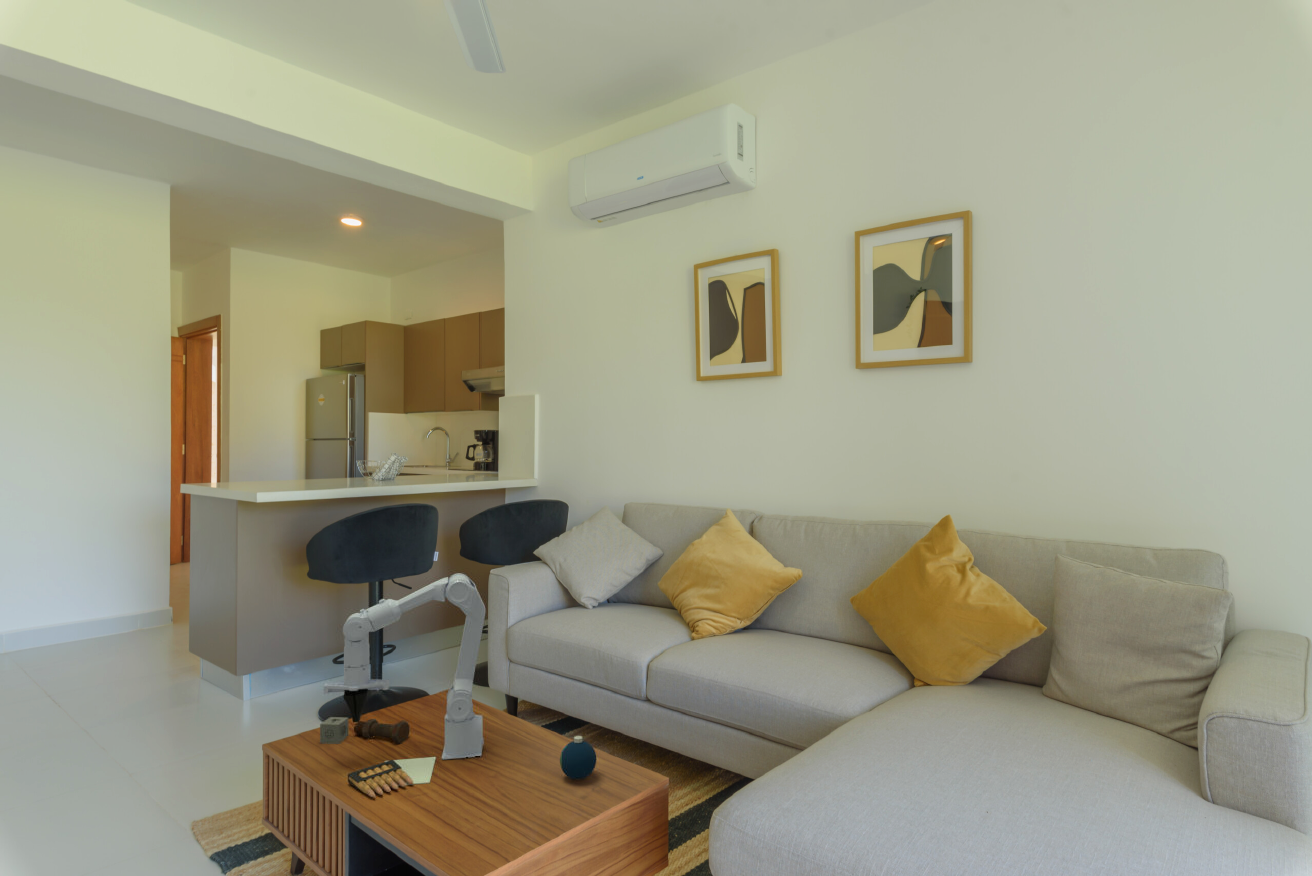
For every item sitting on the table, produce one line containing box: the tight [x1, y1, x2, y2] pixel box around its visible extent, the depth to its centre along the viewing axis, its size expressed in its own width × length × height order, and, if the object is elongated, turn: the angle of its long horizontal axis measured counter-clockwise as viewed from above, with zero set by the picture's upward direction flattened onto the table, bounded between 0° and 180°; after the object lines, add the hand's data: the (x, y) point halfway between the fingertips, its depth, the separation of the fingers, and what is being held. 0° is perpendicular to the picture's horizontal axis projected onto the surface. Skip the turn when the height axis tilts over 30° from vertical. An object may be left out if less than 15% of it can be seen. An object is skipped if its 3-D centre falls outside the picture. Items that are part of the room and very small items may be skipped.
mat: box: [384, 756, 437, 787], centre depth 173 cm, size 12×14×1 cm
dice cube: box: [319, 716, 349, 745], centre depth 193 cm, size 5×5×5 cm
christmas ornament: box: [559, 735, 597, 781], centre depth 170 cm, size 8×8×10 cm
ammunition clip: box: [347, 759, 414, 798], centre depth 167 cm, size 11×2×12 cm
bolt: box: [353, 718, 411, 745], centre depth 194 cm, size 6×5×15 cm
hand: (356, 720), depth 178 cm, fingers closed
